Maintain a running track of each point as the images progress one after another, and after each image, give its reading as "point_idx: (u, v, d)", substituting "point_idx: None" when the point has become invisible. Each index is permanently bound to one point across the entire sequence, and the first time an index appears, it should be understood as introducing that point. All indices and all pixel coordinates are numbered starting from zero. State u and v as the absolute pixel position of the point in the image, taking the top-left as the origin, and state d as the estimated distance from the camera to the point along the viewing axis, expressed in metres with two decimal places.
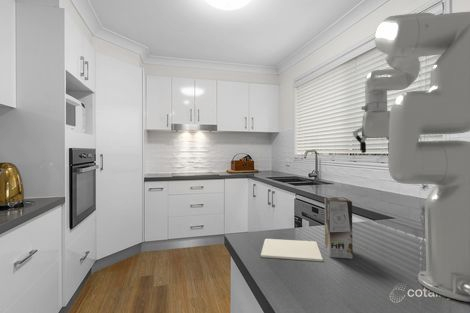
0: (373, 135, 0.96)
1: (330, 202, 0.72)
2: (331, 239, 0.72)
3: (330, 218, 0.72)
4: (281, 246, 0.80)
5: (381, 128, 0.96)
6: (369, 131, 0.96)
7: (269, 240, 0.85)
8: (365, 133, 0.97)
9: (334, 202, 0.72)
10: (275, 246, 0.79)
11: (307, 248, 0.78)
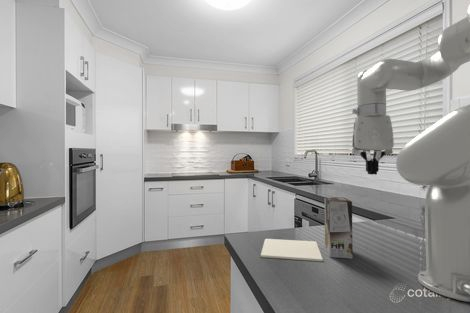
0: (367, 148, 0.72)
1: (330, 202, 0.72)
2: (331, 239, 0.72)
3: (330, 218, 0.72)
4: (281, 246, 0.80)
5: (377, 138, 0.72)
6: (362, 142, 0.73)
7: (269, 240, 0.85)
8: (356, 145, 0.73)
9: (334, 202, 0.72)
10: (275, 246, 0.79)
11: (307, 248, 0.78)
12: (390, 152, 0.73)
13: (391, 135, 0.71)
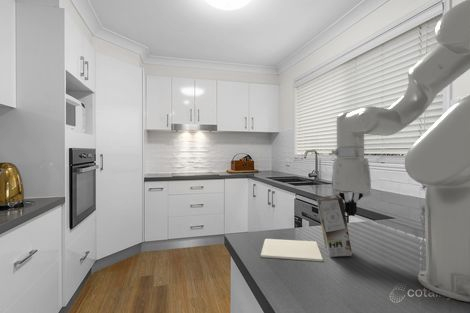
0: (345, 190, 0.73)
1: (321, 202, 0.73)
2: (328, 239, 0.72)
3: (324, 218, 0.72)
4: (281, 246, 0.80)
5: (355, 181, 0.73)
6: (340, 184, 0.74)
7: (269, 240, 0.85)
8: (335, 186, 0.74)
9: (325, 202, 0.73)
10: (275, 246, 0.79)
11: (307, 248, 0.78)
12: (368, 194, 0.74)
13: (368, 178, 0.72)
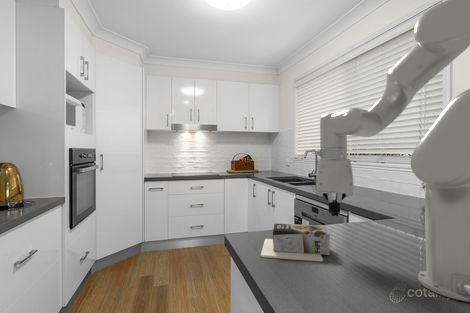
0: (328, 190, 0.74)
1: (274, 249, 0.75)
2: (311, 252, 0.73)
3: (290, 251, 0.74)
4: None
5: (338, 181, 0.74)
6: (323, 185, 0.74)
7: (269, 240, 0.85)
8: (318, 187, 0.75)
9: (274, 246, 0.75)
10: None
11: None
12: (351, 194, 0.75)
13: (351, 179, 0.73)
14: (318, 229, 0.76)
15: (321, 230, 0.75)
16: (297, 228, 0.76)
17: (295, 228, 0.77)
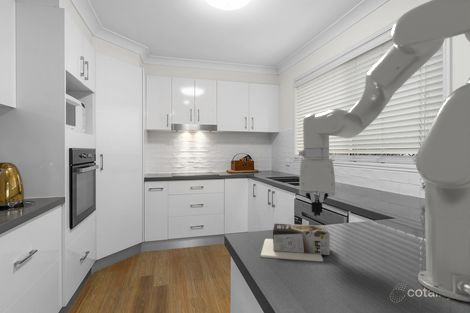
0: (310, 190, 0.75)
1: (274, 249, 0.75)
2: (311, 252, 0.73)
3: (290, 251, 0.74)
4: None
5: (320, 181, 0.74)
6: (305, 185, 0.75)
7: (269, 240, 0.85)
8: (301, 187, 0.76)
9: (274, 246, 0.75)
10: None
11: None
12: (333, 194, 0.76)
13: (332, 179, 0.74)
14: (318, 229, 0.76)
15: (321, 230, 0.75)
16: (297, 228, 0.77)
17: (295, 228, 0.77)
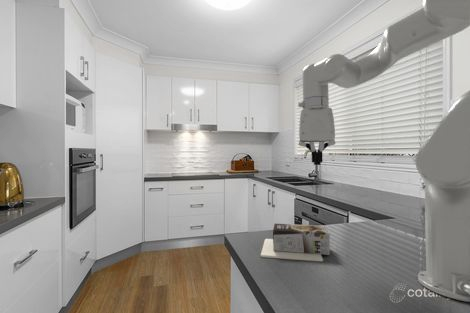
0: (310, 139, 0.75)
1: (274, 249, 0.75)
2: (311, 252, 0.73)
3: (290, 251, 0.74)
4: None
5: (319, 130, 0.75)
6: (305, 134, 0.76)
7: (269, 240, 0.85)
8: (301, 136, 0.76)
9: (274, 246, 0.75)
10: None
11: None
12: (333, 143, 0.76)
13: (332, 126, 0.74)
14: (318, 229, 0.76)
15: (321, 230, 0.75)
16: (297, 228, 0.77)
17: (295, 228, 0.77)
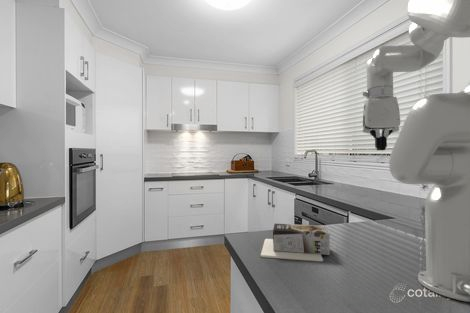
0: (377, 126, 0.81)
1: (274, 249, 0.75)
2: (311, 252, 0.73)
3: (290, 251, 0.74)
4: None
5: (386, 117, 0.80)
6: (372, 121, 0.81)
7: (269, 240, 0.85)
8: (367, 123, 0.82)
9: (274, 246, 0.75)
10: None
11: None
12: (397, 130, 0.82)
13: (398, 114, 0.80)
14: (318, 229, 0.76)
15: (321, 230, 0.75)
16: (297, 228, 0.77)
17: (295, 228, 0.77)
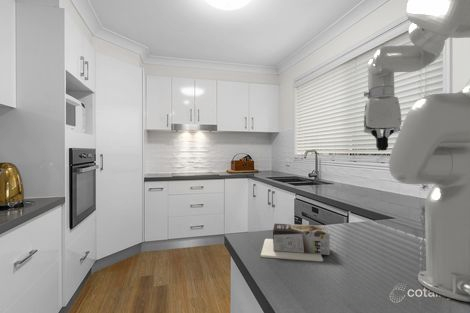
0: (378, 126, 0.81)
1: (274, 249, 0.75)
2: (311, 252, 0.73)
3: (290, 251, 0.74)
4: None
5: (387, 117, 0.81)
6: (373, 121, 0.81)
7: (269, 240, 0.85)
8: (368, 123, 0.82)
9: (274, 246, 0.75)
10: None
11: None
12: (398, 130, 0.82)
13: (399, 114, 0.80)
14: (318, 229, 0.76)
15: (321, 230, 0.75)
16: (297, 228, 0.77)
17: (295, 228, 0.77)
